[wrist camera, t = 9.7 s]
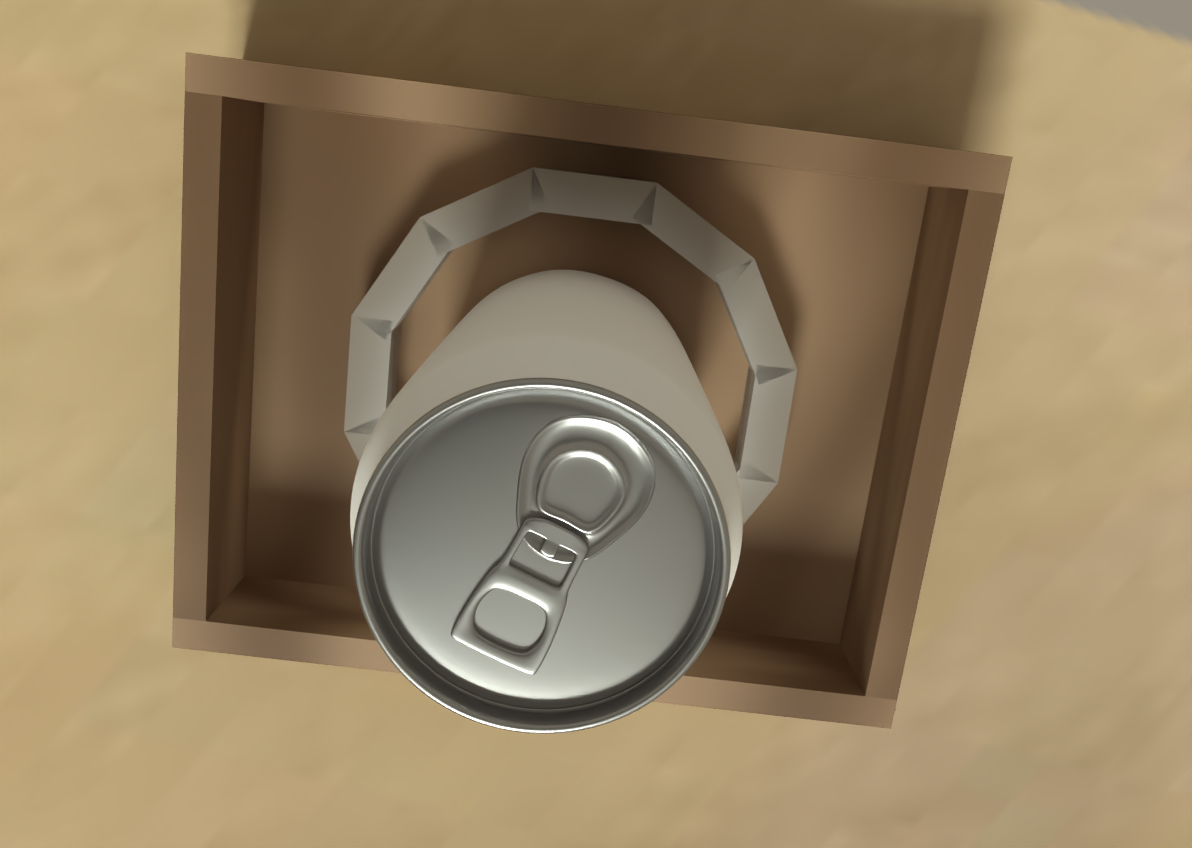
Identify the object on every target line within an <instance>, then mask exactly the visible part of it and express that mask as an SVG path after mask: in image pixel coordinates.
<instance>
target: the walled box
mask: <svg viewBox="0 0 1192 848" xmlns="http://www.w3.org/2000/svg"><path fill="white" fill-rule="evenodd" d="M1011 162H1012V157H1010V156H1002V155H994V154H986V153H978V152H970V151H962V150H954V149H946V148H938V147H930V146H922V145H915V144H907V143H899V142H891V141H883V140H875V139H867V138H859V137H851V136H843V135H835V134H827V133H820V132H812V131H804V130H796V129H788V128H780V127H772V126H764V125H756V124H748V123H740V122H732V121H725V120H717V119H709V118H701V117H693V116H685V115H677V114H669V113H661V112H653V111H645V110H637V109H630V108H622V107H614V106H606V105H598V104H590V103H582V102H574V101H566V100H558V99H550V98H542V97H535V96H527V95H519V94H511V93H503V92H495V91H487V90H479V89H471V88H463V87H455V86H447V85H440V84H432V83H424V82H416V81H408V80H400V79H392V78H384V77H376V76H368V75H360V74H352V73H345V72H337V71H329V70H321V69H313V68H305V67H297V66H289V65H281V64H273V63H265V62H257V61H250V60H242V59H234V58H226V57H218V56H210V55H202V54H194V53H186V67H185V110H184V154H183V198H182V241H181V285H180V329H179V372H178V416H177V460H176V504H175V547H174V591H173V635H172V647H174V648H183V649H192V650H201V651H209V652H218V653H227V654H236V655H245V656H254V657H262V658H271V659H280V660H289V661H298V662H307V663H315V664H324V665H333V666H342V667H351V668H360V669H369V670H377V671H386V672H395V673H401V672H400V671H399V670H398V669H397V668H396V667H395V666H394V665H393V663H392V662H391V661H390V660H389V658H388V657H387V656H386V654H385V653H384V651H383V650H382V649H381V647H380V645H379V644H378V642H377V641H376V639H375V637H374V635H373V633H372V632H371V630H370V627H369V625H368V623H367V621H366V619H365V616H364V614H363V611H362V608H361V605H360V602H359V598H358V595H357V590H356V586H355V580H354V573H353V559H352V540H351V528H350V509H351V497H352V490H353V485H354V480H355V476H356V472H357V468H358V465H359V462H360V459H361V457H362V454H363V451H364V449H365V446H366V444H367V442H368V439H369V437H370V435H371V433H372V431H373V429H374V428H375V426H376V424H377V422H378V421H379V419H380V418H381V416H382V415H383V413H384V412H385V410H386V409H387V407H388V406H389V404H390V403H391V402H392V400H393V399H394V398H395V396H396V395H397V394H398V393H399V391H400V390H401V389H402V388H403V387H404V385H405V384H406V383H407V382H408V380H409V379H410V378H411V377H412V376H413V375H414V373H415V372H416V371H417V370H418V369H419V368H420V366H421V365H422V364H423V363H424V362H425V361H426V359H427V358H428V357H429V356H430V355H431V354H432V353H433V351H434V350H435V349H436V348H437V347H438V346H439V345H440V343H441V342H442V341H443V340H444V339H445V338H446V337H447V336H448V334H449V333H450V332H451V331H452V330H453V329H454V328H455V327H456V326H457V324H458V323H459V322H460V321H461V320H462V319H463V318H464V317H465V316H466V315H467V314H468V313H469V312H470V311H471V310H472V309H473V308H474V307H475V306H476V305H477V304H478V303H479V302H480V301H481V300H483V299H484V298H485V297H486V296H488V295H489V294H490V293H492V292H493V291H495V290H496V289H498V288H499V287H501V286H503V285H505V284H507V283H509V282H511V281H513V280H515V279H518V278H521V277H523V276H526V275H530V274H534V273H538V272H543V271H550V270H577V271H584V272H589V273H593V274H597V275H600V276H604V277H607V278H610V279H613V280H615V281H618V282H620V283H622V284H625V285H627V286H629V287H630V288H632V289H634V290H636V291H637V292H639V293H640V294H642V295H643V296H645V297H646V298H647V299H649V300H650V301H651V302H652V303H653V304H654V305H655V306H656V307H657V308H658V309H659V310H660V312H661V313H662V314H663V315H664V317H665V318H666V319H667V321H668V322H669V324H670V325H671V327H672V328H673V330H674V331H675V333H676V335H677V336H678V338H679V340H680V342H681V344H682V346H683V348H684V350H685V352H686V354H687V356H688V358H689V360H690V362H691V364H692V366H693V368H694V370H695V373H696V375H697V377H698V379H699V381H700V383H701V386H702V388H703V390H704V392H705V394H706V397H707V399H708V401H709V403H710V405H711V408H712V410H713V412H714V414H715V417H716V419H717V421H718V423H719V426H720V428H721V430H722V433H723V435H724V438H725V440H726V443H727V445H728V448H729V451H730V454H731V457H732V460H733V463H734V466H735V469H736V473H737V477H738V481H739V486H740V492H741V500H742V514H743V533H742V545H741V551H740V557H739V562H738V566H737V570H736V573H735V576H734V580H733V582H732V585H731V588H730V590H729V592H728V595H727V597H726V599H725V603H724V607H723V610H722V613H721V616H720V618H719V621H718V623H717V626H716V628H715V630H714V632H713V634H712V636H711V638H710V640H709V641H708V643H707V645H706V647H705V648H704V650H703V651H702V653H701V654H700V656H699V657H698V658H697V660H696V661H695V662H694V664H693V665H692V666H691V667H690V668H689V670H688V671H687V672H686V673H685V674H684V675H683V676H682V677H681V678H680V679H679V680H678V681H677V682H676V683H675V684H674V685H673V686H672V687H670V688H669V689H668V690H667V691H666V692H664V693H663V694H662V695H661V696H659V697H658V698H656V699H655V700H654V701H652V702H660V703H669V704H678V705H687V706H696V707H704V708H713V709H722V710H731V711H740V712H749V713H757V714H766V715H775V716H784V717H793V718H802V719H810V720H819V721H828V722H837V723H846V724H855V725H864V726H872V727H881V728H890V729H891V726H892V721H893V716H894V711H895V707H896V702H897V697H898V693H899V688H900V683H901V679H902V674H903V669H904V664H905V660H906V655H907V650H908V646H909V641H910V636H911V632H912V627H913V622H914V617H915V613H916V608H917V603H918V599H919V594H920V589H921V585H922V580H923V575H924V571H925V566H926V561H927V556H928V552H929V547H930V542H931V538H932V533H933V528H934V524H935V519H936V514H937V509H938V505H939V500H940V495H941V491H942V486H943V481H944V477H945V472H946V467H947V462H948V458H949V453H950V448H951V444H952V439H953V434H954V430H955V425H956V420H957V415H958V411H959V406H960V401H961V397H962V392H963V387H964V383H965V378H966V373H967V368H968V364H969V359H970V354H971V350H972V345H973V340H974V336H975V331H976V326H977V321H978V317H979V312H980V307H981V303H982V298H983V293H984V289H985V284H986V279H987V274H988V270H989V265H990V260H991V256H992V251H993V246H994V242H995V237H996V232H997V227H998V223H999V218H1000V213H1001V209H1002V204H1003V199H1004V195H1005V190H1006V185H1007V180H1008V176H1009V171H1010V166H1011Z"/></svg>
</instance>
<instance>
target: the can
mask: <svg viewBox="0 0 1192 848" xmlns="http://www.w3.org/2000/svg"><path fill="white" fill-rule="evenodd" d="M350 528H351V540H352V559H353V573H354V580H355V586H356V590H357V595H358V598H359V602H360V605H361V608H362V611H363V614H364V616H365V619H366V621H367V623H368V625H369V627H370V630H371V632H372V633H373V635H374V637H375V639H376V641H377V642H378V644H379V645H380V647H381V649H382V650H383V651H384V653H385V654H386V656H387V657H388V658H389V660H390V661H391V662H392V663H393V665H394V666H395V667H396V668H397V669H398V670H399V671H400V672H401V673H402V675H403V676H404V677H405V678H406V679H408V680H409V681H410V682H411V683H412V684H413V685H414V686H415V687H416V688H418V689H419V690H420V691H421V692H423V693H424V694H425V695H427V696H428V697H429V698H431V699H432V700H434V701H435V702H437V703H438V704H440V705H442V706H443V707H445V708H447V709H449V710H451V711H452V712H454V713H457V714H459V715H461V716H463V717H465V718H468V719H470V720H473V721H475V722H478V723H481V724H484V725H488V726H491V727H495V728H499V729H504V730H509V731H515V732H523V733H537V734H549V733H565V732H573V731H579V730H584V729H589V728H593V727H597V726H600V725H604V724H607V723H610V722H612V721H615V720H618V719H620V718H622V717H625V716H627V715H629V714H631V713H633V712H635V711H637V710H639V709H641V708H642V707H644V706H646V705H647V704H649V703H650V702H652V701H654V700H655V699H656V698H658V697H659V696H661V695H662V694H663V693H664V692H666V691H667V690H668V689H669V688H670V687H672V686H673V685H674V684H675V683H676V682H677V681H678V680H679V679H680V678H681V677H682V676H683V675H684V674H685V673H686V672H687V671H688V670H689V668H690V667H691V666H692V665H693V664H694V662H695V661H696V660H697V658H698V657H699V656H700V654H701V653H702V651H703V650H704V648H705V647H706V645H707V643H708V641H709V640H710V638H711V636H712V634H713V632H714V630H715V628H716V626H717V623H718V621H719V618H720V616H721V613H722V610H723V607H724V603H725V599H726V597H727V595H728V592H729V590H730V588H731V585H732V582H733V580H734V576H735V573H736V570H737V566H738V562H739V557H740V551H741V545H742V533H743V514H742V500H741V492H740V486H739V481H738V477H737V473H736V469H735V466H734V463H733V460H732V457H731V454H730V451H729V448H728V445H727V443H726V440H725V438H724V435H723V433H722V430H721V428H720V426H719V423H718V421H717V419H716V417H715V414H714V412H713V410H712V408H711V405H710V403H709V401H708V399H707V397H706V394H705V392H704V390H703V388H702V386H701V383H700V381H699V379H698V377H697V375H696V373H695V370H694V368H693V366H692V364H691V362H690V360H689V358H688V356H687V354H686V352H685V350H684V348H683V346H682V344H681V342H680V340H679V338H678V336H677V335H676V333H675V331H674V330H673V328H672V327H671V325H670V324H669V322H668V321H667V319H666V318H665V317H664V315H663V314H662V313H661V312H660V310H659V309H658V308H657V307H656V306H655V305H654V304H653V303H652V302H651V301H650V300H649V299H647V298H646V297H645V296H643V295H642V294H640V293H639V292H637V291H636V290H634V289H632V288H630V287H629V286H627V285H625V284H622V283H620V282H618V281H615V280H613V279H610V278H607V277H604V276H600V275H597V274H593V273H589V272H584V271H577V270H550V271H543V272H538V273H534V274H530V275H526V276H523V277H521V278H518V279H515V280H513V281H511V282H509V283H507V284H505V285H503V286H501V287H499V288H498V289H496V290H495V291H493V292H492V293H490V294H489V295H488V296H486V297H485V298H484V299H483V300H481V301H480V302H479V303H478V304H477V305H476V306H475V307H474V308H473V309H472V310H471V311H470V312H469V313H468V314H467V315H466V316H465V317H464V318H463V319H462V320H461V321H460V322H459V323H458V324H457V326H456V327H455V328H454V329H453V330H452V331H451V332H450V333H449V334H448V336H447V337H446V338H445V339H444V340H443V341H442V342H441V343H440V345H439V346H438V347H437V348H436V349H435V350H434V351H433V353H432V354H431V355H430V356H429V357H428V358H427V359H426V361H425V362H424V363H423V364H422V365H421V366H420V368H419V369H418V370H417V371H416V372H415V373H414V375H413V376H412V377H411V378H410V379H409V380H408V382H407V383H406V384H405V385H404V387H403V388H402V389H401V390H400V391H399V393H398V394H397V395H396V396H395V398H394V399H393V400H392V402H391V403H390V404H389V406H388V407H387V409H386V410H385V412H384V413H383V415H382V416H381V418H380V419H379V421H378V422H377V424H376V426H375V428H374V429H373V431H372V433H371V435H370V437H369V439H368V442H367V444H366V446H365V449H364V451H363V454H362V457H361V459H360V462H359V465H358V468H357V472H356V476H355V480H354V485H353V490H352V497H351V509H350Z"/></svg>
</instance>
